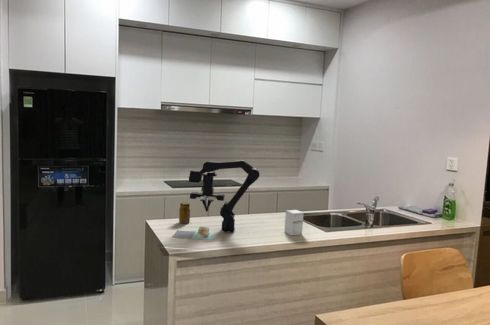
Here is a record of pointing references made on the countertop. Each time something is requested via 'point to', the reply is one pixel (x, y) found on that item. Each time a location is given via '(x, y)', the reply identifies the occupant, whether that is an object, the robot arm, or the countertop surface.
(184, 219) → the condiment
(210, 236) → the runner mat
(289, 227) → the supplement box
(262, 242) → the countertop surface
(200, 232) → the beech block
